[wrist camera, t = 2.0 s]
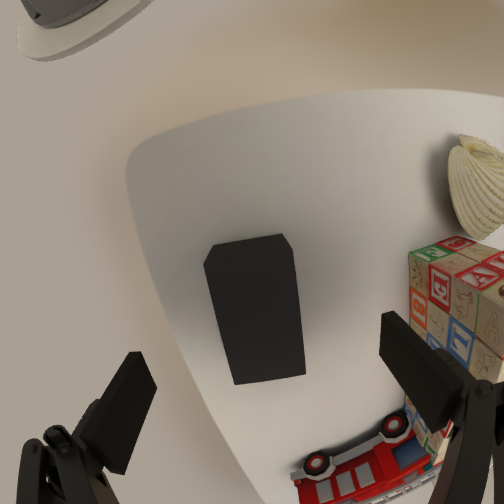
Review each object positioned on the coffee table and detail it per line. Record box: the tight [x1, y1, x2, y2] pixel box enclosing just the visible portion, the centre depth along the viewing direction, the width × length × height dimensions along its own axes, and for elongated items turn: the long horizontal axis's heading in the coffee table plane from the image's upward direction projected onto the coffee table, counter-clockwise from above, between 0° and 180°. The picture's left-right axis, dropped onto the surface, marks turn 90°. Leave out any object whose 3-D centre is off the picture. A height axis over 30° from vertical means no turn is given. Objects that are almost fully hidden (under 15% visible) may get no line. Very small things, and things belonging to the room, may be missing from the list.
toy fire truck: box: [290, 413, 443, 504], centre depth 22 cm, size 9×19×10 cm, turn 123°
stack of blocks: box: [403, 236, 504, 466], centre depth 16 cm, size 21×6×12 cm, turn 15°
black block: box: [203, 234, 306, 385], centre depth 18 cm, size 9×5×4 cm, turn 10°
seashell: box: [448, 134, 504, 241], centre depth 16 cm, size 8×8×8 cm
